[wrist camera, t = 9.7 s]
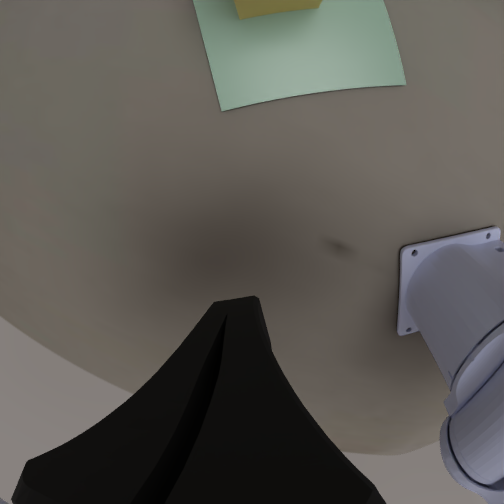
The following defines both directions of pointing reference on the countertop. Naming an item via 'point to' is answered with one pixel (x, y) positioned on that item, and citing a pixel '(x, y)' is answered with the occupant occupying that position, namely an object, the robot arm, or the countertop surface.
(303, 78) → the baseplate
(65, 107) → the countertop surface
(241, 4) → the yellow brick
